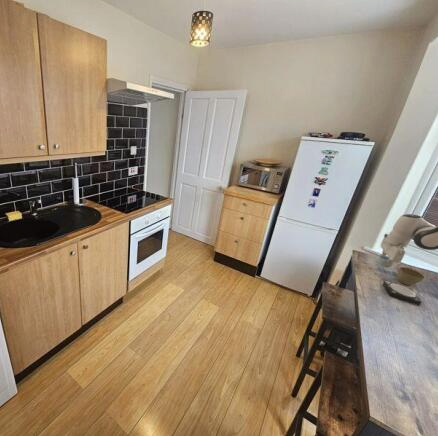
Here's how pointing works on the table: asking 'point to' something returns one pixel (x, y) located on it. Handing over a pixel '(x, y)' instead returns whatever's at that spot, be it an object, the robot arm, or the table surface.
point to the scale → (402, 293)
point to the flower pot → (409, 276)
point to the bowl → (383, 261)
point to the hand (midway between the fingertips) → (385, 260)
